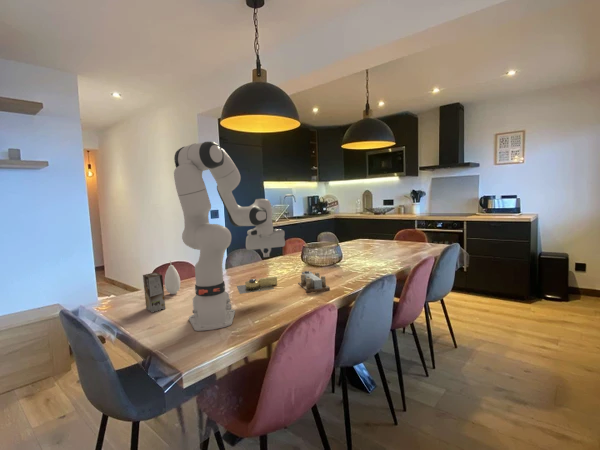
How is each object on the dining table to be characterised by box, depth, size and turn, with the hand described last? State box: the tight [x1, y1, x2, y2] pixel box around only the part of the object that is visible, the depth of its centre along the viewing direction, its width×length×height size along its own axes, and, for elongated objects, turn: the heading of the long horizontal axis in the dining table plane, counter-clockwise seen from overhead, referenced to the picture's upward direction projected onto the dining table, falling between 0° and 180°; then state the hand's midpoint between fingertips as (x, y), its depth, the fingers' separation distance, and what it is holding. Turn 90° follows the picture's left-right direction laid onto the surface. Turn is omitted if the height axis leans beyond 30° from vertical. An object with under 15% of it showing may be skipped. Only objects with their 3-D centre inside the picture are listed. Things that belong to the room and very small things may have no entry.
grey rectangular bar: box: [301, 270, 322, 289], centre depth 172 cm, size 21×6×5 cm, turn 17°
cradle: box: [297, 272, 331, 294], centre depth 170 cm, size 16×12×6 cm
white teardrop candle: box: [164, 260, 181, 295], centre depth 172 cm, size 8×8×18 cm
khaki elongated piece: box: [244, 276, 278, 289], centre depth 174 cm, size 17×8×4 cm, turn 107°
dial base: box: [236, 284, 275, 295], centre depth 173 cm, size 16×18×1 cm
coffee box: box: [142, 272, 166, 313], centre depth 149 cm, size 9×6×16 cm
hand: (266, 256), depth 167 cm, fingers closed
